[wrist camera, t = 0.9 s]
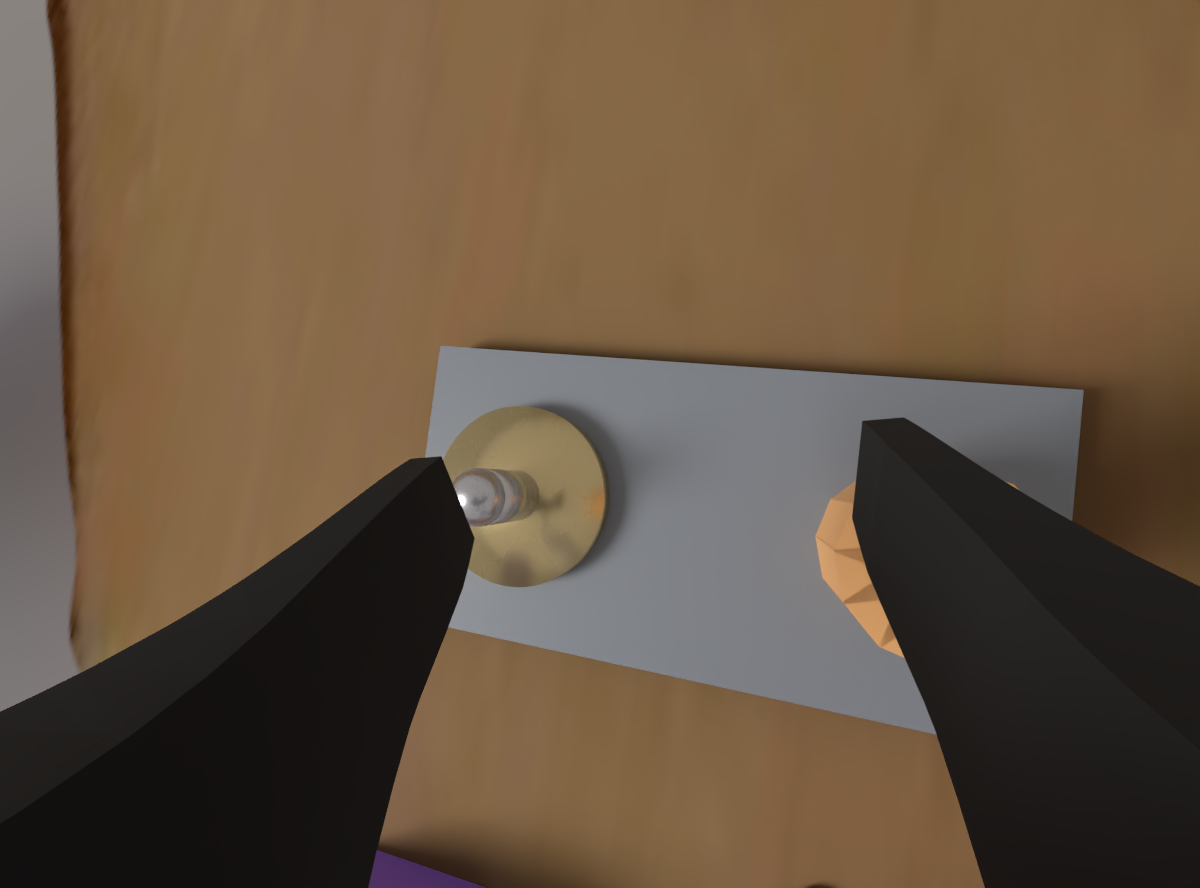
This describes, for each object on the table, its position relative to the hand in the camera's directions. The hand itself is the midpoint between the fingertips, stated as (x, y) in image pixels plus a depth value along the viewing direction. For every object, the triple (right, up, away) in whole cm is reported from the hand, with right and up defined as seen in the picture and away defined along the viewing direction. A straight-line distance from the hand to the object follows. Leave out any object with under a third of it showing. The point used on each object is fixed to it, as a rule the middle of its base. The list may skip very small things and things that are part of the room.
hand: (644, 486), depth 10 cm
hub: (-4, -1, +13) cm, 14 cm away
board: (+3, -2, +13) cm, 13 cm away
